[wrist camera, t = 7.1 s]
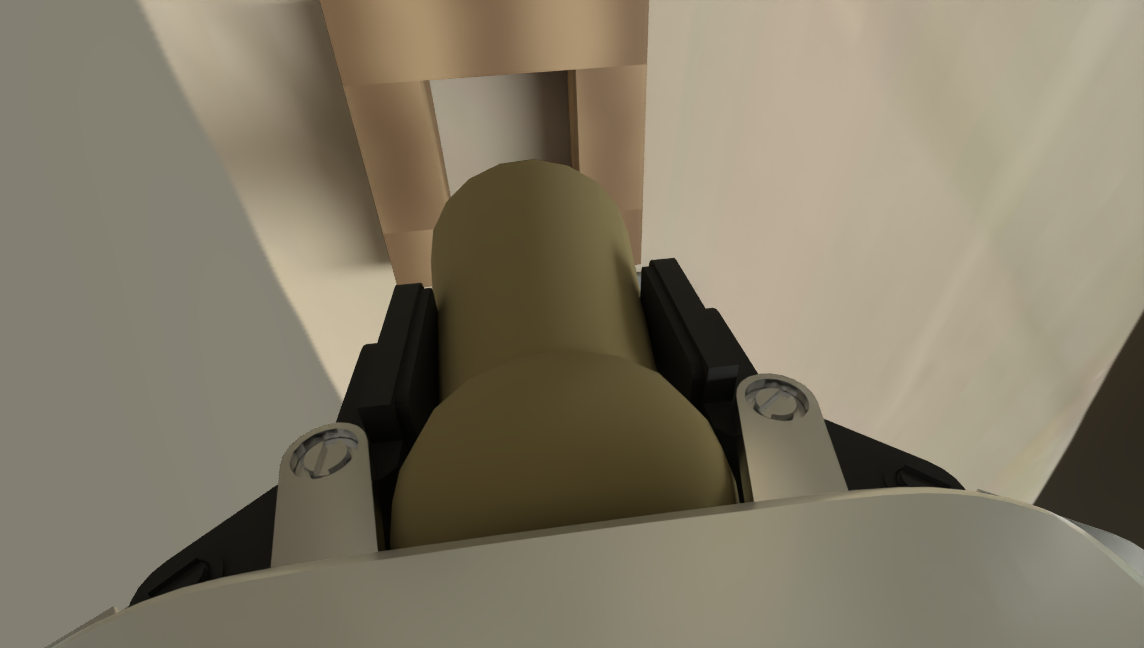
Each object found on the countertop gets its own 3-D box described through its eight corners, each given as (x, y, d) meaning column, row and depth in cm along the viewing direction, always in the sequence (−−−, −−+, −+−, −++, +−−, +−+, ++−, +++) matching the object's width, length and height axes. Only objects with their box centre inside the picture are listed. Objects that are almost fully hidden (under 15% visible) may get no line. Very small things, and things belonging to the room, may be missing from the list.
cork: (438, 343, 17) (370, 756, 8) (420, 156, 14) (266, 479, 5) (619, 339, 18) (750, 709, 9) (641, 162, 15) (888, 446, 5)
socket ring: (631, -23, 25) (649, -23, 23) (627, 239, 33) (640, 264, 30) (338, -5, 24) (318, -3, 21) (406, 261, 32) (398, 289, 29)
